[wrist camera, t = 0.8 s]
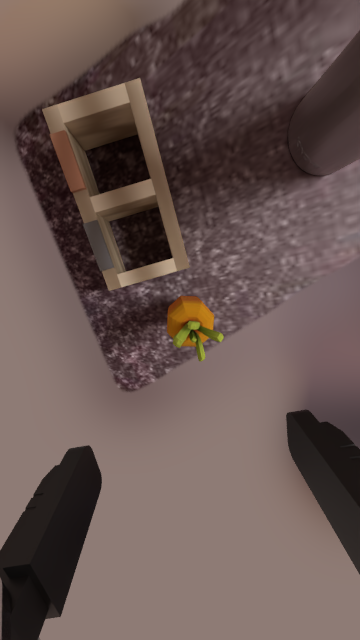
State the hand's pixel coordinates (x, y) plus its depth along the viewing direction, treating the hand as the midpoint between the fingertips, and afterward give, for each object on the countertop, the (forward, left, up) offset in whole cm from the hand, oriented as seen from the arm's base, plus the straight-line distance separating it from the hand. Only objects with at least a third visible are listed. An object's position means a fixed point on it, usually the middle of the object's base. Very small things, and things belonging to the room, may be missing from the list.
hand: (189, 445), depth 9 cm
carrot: (-2, 0, -24) cm, 24 cm away
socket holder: (-6, -13, -24) cm, 28 cm away
